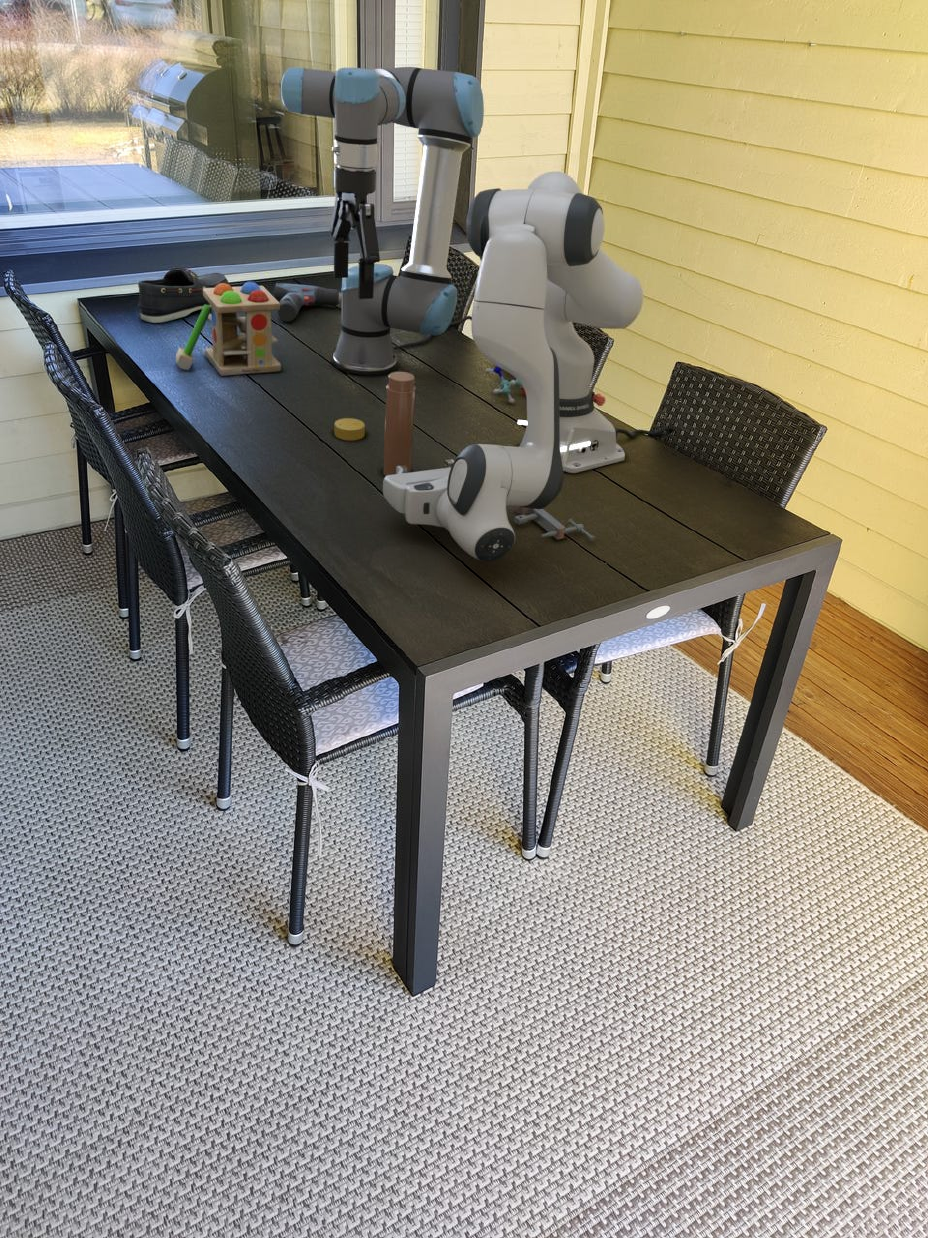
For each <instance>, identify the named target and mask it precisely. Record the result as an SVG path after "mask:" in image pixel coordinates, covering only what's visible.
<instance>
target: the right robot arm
mask: <svg viewBox="0 0 928 1238" xmlns="http://www.w3.org/2000/svg"><path fill="white" fill-rule="evenodd" d="M465 224H466V225H465V226H466V227H465V229H466V239H467V242H468V245H469V247H470V248H471V251H472V252H473V253H474V254H475V256H477V257H478V258H479V259H480V264H479V268H478V272H477V277H476V282H475V288H474V296H473V303H472V312H471V317H472V321H470V323H471V326H470V328H471V336H472V339H473V342H474V344H475V346H476V347H477V349H478V351H479V352H480V353H481V354H482V356H483V357H485V359H487V360H488V361H489V362H490V363H491V364H493V365H495V367H496V366H498V367H500V368H501V369H502V370H503V371H505V372H506V373H508V374H510V375H511V376H512V377H514V378H515V380H516V379H517V380H518V381H519V382H520V383H521V384H522V385H521V386H523V389H524V390H525V392H526V396H525V397H526V420H523V419H518V420H517V425H523V426H526V428H525V430H524V434H523V437H522V440H521V442H520V444H519V446H515V445H514V446H510V445H501V444H488V443H470V444H469V445H467V446H466V447H464V448H463V450H461V452H459V454H458V455H457V457H456V458H455V459H453V458H452V459H445V460H444V465H443V468H435V469H428V470H420V471H411V472H410V473H407V470H408V469H407V467H405V465H403V466H397V467H396V474H394V475H387V476H384V478H383V481H382V495H383V497H384V499H385V500H386V501H387V502H388V504H389V505H390V506H391V507H392V508H393V509H394V510H395V511H396V512H398V513H400V514H403V515H404V517H405V521H406V522H407V523H408V524H410V525H424V526H425V525H426V526H435V527H439V528H444V529H445V530H446V531H448V532H449V533H450V536H451V537H452V539H453V540H454V541H455V542H456V544H457V545H458V546H459V548H461V549H462V550H463V551H464V552H465V553H467V554H468V555H469V556H471V558H473V559H475V560H478V561H481V562H490V561H496V560H498V559H501V558H502V557H504V556H505V555H507V554H508V553H509V552H510V551H511V550H512V548H513V547H514V545H515V542H516V534H515V531H514V528H513V527H512V525H511V523H510V521H509V517H508V513H507V507H518V506H519V507H524V508H532V509H543V510H544V509H545V508H546V507H548V506H549V505H550V504H552V502H553V501H555V500H556V498H557V497H558V496H559V494H560V492H561V491H562V489H563V485H564V472H566V473H570V474H577V473H581V472H584V471H589V470H594V469H597V468H600V467H604V466H607V465H611V464H617V463H620V462H623V461H625V458H626V453H625V451H624V449H623V448H622V447H621V445H619V444H618V443H617V437H618V433H619V434H624V435H625V436H626V437H628V438H630V439H634V438H635V437H636V436H637V435H640V434H641V435H646V436H658V435H660V434H662V433H664V432H666V431H667V430H669V431H670V432H672V433H673V432H676V431H675V428H674V427H673V426H672V428H670V429H668V428H669V427H668V426H669V425H665V426H663V427H661V428H660V429H658V430H654V431H652V430H646V429H635V430H633V431H632V433H631V432H629V431H628V430H626V429H623V428H615V427H614V425H613V423H612V422H611V421H609V419H608V418H607V417H605V416H604V415H603V414H602V413H601V412H600V411H599V410H598V409H597V408H596V407H595V404H596V405H597V406H598V407H602V406H604V405H605V404H606V397H605V396H603V395H602V394H601V393H595V391H594V390H592V389H591V386H592V385H591V384H592V378H593V372H594V365H595V355H594V352H593V350H592V348H591V346H590V344H588V342H586V341H585V340H584V339H583V338H582V337H580V335H579V334H578V333H577V331H576V329H575V327H574V324H573V323H575V324H578V325H583V326H587V327H592V328H597V329H603V330H604V329H605V330H606V329H607V330H625V329H626V328H628V327H630V326H631V325H632V324H633V323H634V322H635V321H636V319H637V318H638V316H639V315H640V313H641V310H642V307H643V303H644V292H643V286H642V284H641V282H640V280H639V279H638V277H636V276H634V275H633V274H631V273H629V272H628V271H626V270H625V269H623V268H622V267H620V266H619V265H618V264H617V263H616V262H615V261H614V260H613V259H611V257H610V255H608V254H607V253H606V252H605V251H604V250H603V248H602V247H601V246H602V244H603V241H604V237H605V232H606V231H605V227H606V226H605V219H604V210H603V207H602V206H601V204H600V203H599V202H598V200H596V198H594V197H592V196H589V195H587V194H585V193H583V192H582V190H581V188H580V187H579V185H578V183H577V182H576V180H575V179H574V178H573V177H571V175H568V174H567V173H564V172H563V171H562V172H561V171H547V172H544V173H542V174H540V175H538V176H537V177H535V178H534V179H533V180H532V181H531V182H530V184H529V185H528V187H527V188H516V189H515V188H514V189H504V190H503V189H501V188H499V187H498V188H497V187H496V188H489V189H485V190H481V191H479V192H478V193H477V194H476V195H475V196H474V198H473V199H472V200H471V202H470V204H469V208H468V210H467V215H466V223H465Z"/></svg>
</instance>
